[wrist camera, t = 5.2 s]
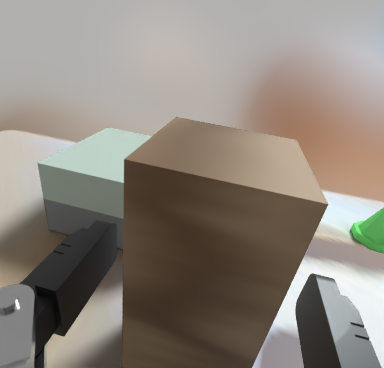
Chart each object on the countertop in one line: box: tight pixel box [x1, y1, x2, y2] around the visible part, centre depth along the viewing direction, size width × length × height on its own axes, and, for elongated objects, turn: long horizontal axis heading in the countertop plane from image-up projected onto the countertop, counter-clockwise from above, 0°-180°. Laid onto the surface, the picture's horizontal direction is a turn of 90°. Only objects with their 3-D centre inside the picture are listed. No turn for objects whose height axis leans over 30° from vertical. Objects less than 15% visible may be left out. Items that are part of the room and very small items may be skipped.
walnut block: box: [122, 117, 328, 368], centre depth 11 cm, size 5×5×12 cm
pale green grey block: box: [38, 128, 152, 249], centre depth 23 cm, size 10×10×6 cm
